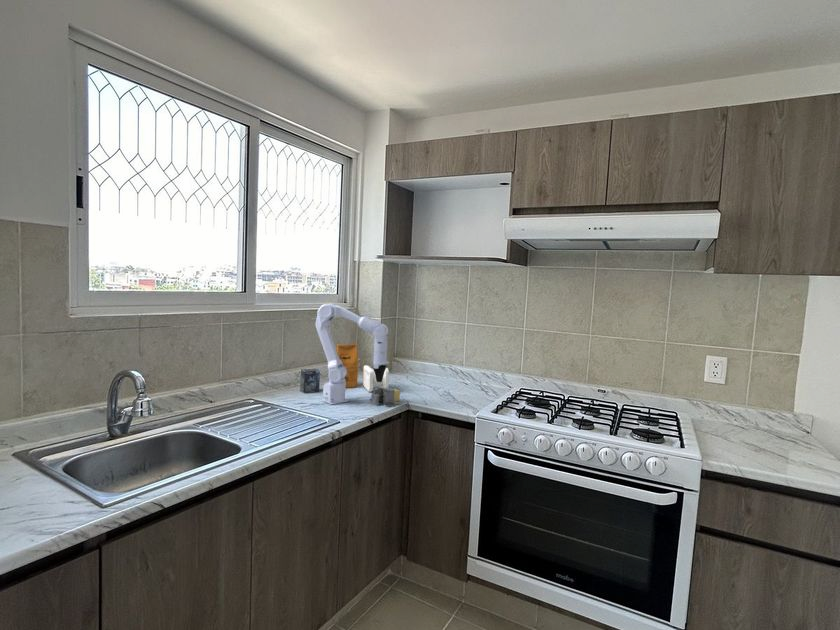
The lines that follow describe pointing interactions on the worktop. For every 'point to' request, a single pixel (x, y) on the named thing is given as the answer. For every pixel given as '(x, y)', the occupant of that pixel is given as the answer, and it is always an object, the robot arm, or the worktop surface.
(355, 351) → the coffee package
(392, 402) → the housing
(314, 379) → the box
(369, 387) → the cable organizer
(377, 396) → the plug
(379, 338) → the robot arm
